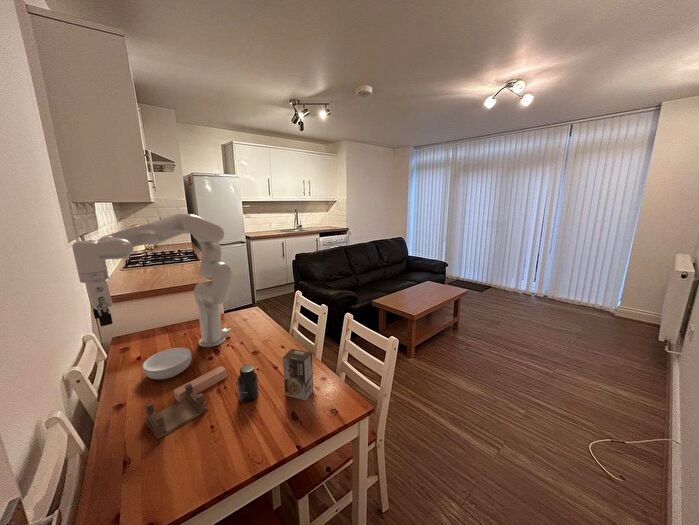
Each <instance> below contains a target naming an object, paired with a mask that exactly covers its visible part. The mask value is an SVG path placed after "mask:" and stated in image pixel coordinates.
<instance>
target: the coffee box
mask: <svg viewBox="0 0 699 525" xmlns="http://www.w3.org/2000/svg"><path fill="white" fill-rule="evenodd" d="M282 367H283V379H284V395H285V396H287V397H291V398H295V399H299V400H302V401H307V400H308V399H309V397H310V396H311V395H312V393H313V392H314V375H313V374H314V373H313V352H310V351H305V350H299V349H294V348H291V349H289V351H288V352H286V354H285V355H283V357H282Z"/></svg>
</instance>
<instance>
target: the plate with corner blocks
mask: <svg viewBox="0 0 699 525" xmlns="http://www.w3.org/2000/svg"><path fill="white" fill-rule="evenodd" d="M185 390H186V391H185V394H186V399H184V400H182V401H180V402H178V401H177V402H176V403H174V404H173V405H170V406H168V407H167V408H165V409H163V410H161V411H159V412H156V411H155V407H154V403H153V402H149V403H148V404H145V405H144V407H145V414H146V418H145V419H144V423H146V425H147V426H148V428H149V429H150V431H151V432H152V433H153V435H154V436H155V437H156V439H157V440H160V439H162V438H163V437H165V436H166V435H168V434H170V433H172V432H173V431H175V430H176V429H179V428H180V427H182V426H183V425H186V423H187V424H188V423H189V422H190V421H192V420H193V419H195V418H197V417H198V416H200V415H202V414H204V413H206V412H207V411H209V409H208V407H207V406H206V402H205V398H204V394H203V393H202V392H200V393H198V394H196V393H195V392H194V391H193V388H192V384H188V385H186V386H185Z"/></svg>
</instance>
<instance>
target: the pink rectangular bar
mask: <svg viewBox="0 0 699 525" xmlns="http://www.w3.org/2000/svg"><path fill="white" fill-rule="evenodd" d="M227 377H228V375H227V369H226V368H225V367H223V366H221V365H219V366H218V367H215V368H213V369H212V370H210V371H207V372H206V373H204V374H202V375H200V376H198V377H197V378H195V379H193V380H190V381H189V382H187V383H184V384H182V385H181V386H178V387H177V388H175V389H173V394H174V399H175V401H177V403H178V402H180V401H182V400H184V399H186V394H185V391H186V390H185V386H186V385H188V384H192V388H193V391H194V392H195V393H196V394H197V395H199V394H200V393H202V392H203V391H205V390H207V389H208V388H210V387H212V386H214V385H216V384H218V383H219V382H222V380H224V379H227Z"/></svg>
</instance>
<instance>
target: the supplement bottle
mask: <svg viewBox="0 0 699 525" xmlns="http://www.w3.org/2000/svg"><path fill="white" fill-rule="evenodd" d="M258 379H259V378H258V374H257V373H256V371H255V367H254V366H253V365H252V364H246V365H243V366H241V367H240V369H239V375H238V377H237V389H238V392H237V393H238V400H239V401H240V402H242V403H245V404H249V403H252V402H254V401H256V399H257V398H258V396H259V382H258Z"/></svg>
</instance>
